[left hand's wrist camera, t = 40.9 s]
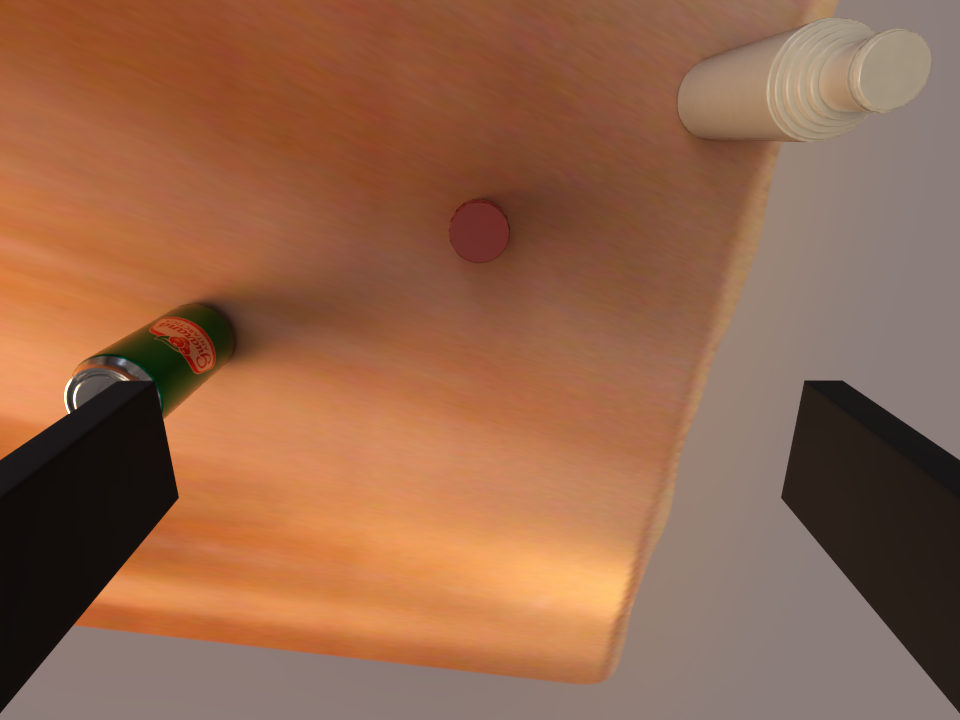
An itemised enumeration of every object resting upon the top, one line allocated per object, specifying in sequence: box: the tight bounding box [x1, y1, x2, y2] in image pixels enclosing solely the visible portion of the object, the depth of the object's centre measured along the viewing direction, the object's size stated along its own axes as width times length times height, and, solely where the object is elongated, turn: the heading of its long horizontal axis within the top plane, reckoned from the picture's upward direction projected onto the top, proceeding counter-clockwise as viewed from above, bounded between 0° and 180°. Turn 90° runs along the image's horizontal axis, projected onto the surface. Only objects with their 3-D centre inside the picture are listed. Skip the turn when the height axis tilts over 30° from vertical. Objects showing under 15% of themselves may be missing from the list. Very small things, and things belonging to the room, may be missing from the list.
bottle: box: [677, 17, 932, 142], centre depth 30 cm, size 5×5×18 cm
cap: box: [449, 199, 510, 263], centre depth 40 cm, size 4×4×2 cm
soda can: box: [65, 304, 234, 419], centre depth 38 cm, size 5×5×12 cm
